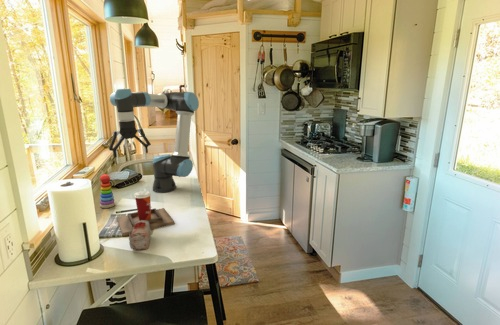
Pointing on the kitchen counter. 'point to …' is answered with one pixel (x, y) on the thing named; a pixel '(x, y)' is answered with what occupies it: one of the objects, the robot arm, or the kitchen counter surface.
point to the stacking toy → (106, 193)
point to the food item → (140, 235)
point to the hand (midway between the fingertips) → (132, 161)
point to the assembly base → (157, 220)
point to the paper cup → (143, 205)
